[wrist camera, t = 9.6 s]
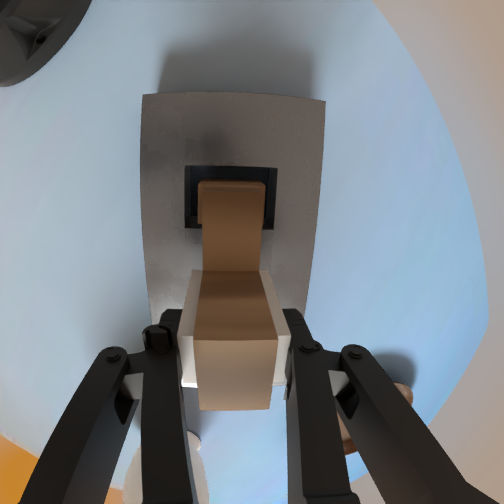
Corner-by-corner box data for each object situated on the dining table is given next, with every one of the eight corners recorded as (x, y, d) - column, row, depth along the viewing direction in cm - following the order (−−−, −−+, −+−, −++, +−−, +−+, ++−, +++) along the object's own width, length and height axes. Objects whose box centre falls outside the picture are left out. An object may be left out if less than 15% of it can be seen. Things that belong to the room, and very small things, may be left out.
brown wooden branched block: (203, 178, 20) (170, 219, 8) (258, 179, 21) (307, 222, 8) (204, 324, 24) (196, 453, 12) (250, 324, 25) (271, 452, 13)
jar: (183, 413, 30) (176, 521, 16) (221, 449, 34) (226, 538, 20) (120, 425, 31) (99, 515, 17) (161, 459, 34) (155, 538, 20)
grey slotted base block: (155, 102, 19) (142, 94, 15) (310, 107, 20) (325, 101, 17) (168, 360, 27) (163, 385, 24) (284, 360, 28) (291, 384, 25)
